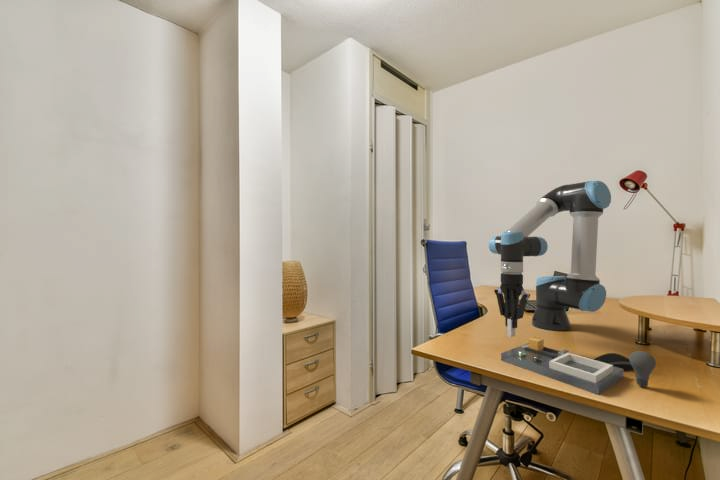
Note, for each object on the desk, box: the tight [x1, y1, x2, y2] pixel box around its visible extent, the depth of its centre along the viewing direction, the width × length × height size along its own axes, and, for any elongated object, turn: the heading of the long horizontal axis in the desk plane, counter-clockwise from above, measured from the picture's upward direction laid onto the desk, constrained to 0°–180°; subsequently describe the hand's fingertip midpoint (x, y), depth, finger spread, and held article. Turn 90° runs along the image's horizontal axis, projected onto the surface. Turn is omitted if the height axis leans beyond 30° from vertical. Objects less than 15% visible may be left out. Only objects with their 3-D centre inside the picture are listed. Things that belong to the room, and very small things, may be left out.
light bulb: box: [628, 350, 657, 388], centre depth 88 cm, size 6×6×10 cm
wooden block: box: [528, 336, 545, 351], centre depth 110 cm, size 4×3×4 cm
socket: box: [549, 352, 613, 383], centre depth 94 cm, size 12×12×2 cm
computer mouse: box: [592, 352, 634, 372], centre depth 102 cm, size 7×12×4 cm, turn 86°
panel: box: [500, 342, 625, 396], centre depth 101 cm, size 18×28×4 cm, turn 34°
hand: (511, 336), depth 118 cm, fingers closed
